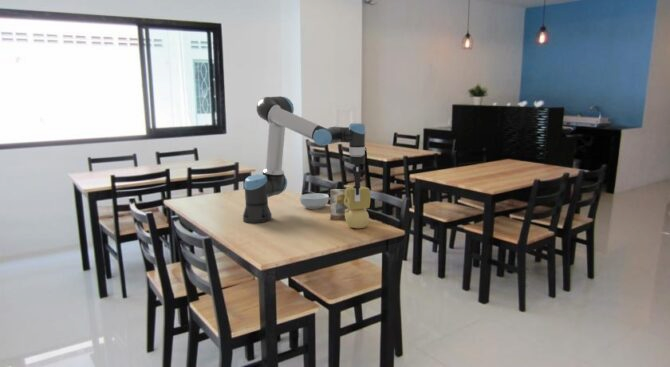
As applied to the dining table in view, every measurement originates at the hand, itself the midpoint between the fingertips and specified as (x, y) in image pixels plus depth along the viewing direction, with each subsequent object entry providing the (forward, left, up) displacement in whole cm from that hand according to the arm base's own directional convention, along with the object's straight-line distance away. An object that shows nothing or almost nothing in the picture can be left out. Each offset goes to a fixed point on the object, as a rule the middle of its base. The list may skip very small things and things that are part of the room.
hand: (357, 198), depth 229 cm
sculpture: (0, 0, -15) cm, 15 cm away
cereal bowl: (-24, +40, -15) cm, 49 cm away
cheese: (0, 0, -5) cm, 5 cm away
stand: (-7, +16, -15) cm, 23 cm away
